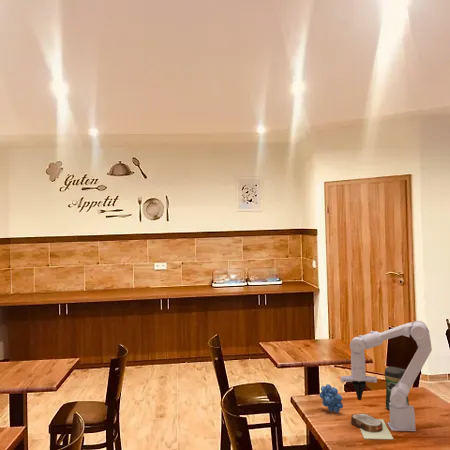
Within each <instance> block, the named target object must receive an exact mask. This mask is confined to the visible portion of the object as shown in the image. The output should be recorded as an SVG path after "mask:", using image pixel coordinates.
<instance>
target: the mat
mask: <svg viewBox="0 0 450 450" xmlns="http://www.w3.org/2000/svg"><path fill="white" fill-rule="evenodd" d="M377 419H378V420H379V421H381V422H382V428H383V430H382V431H380V432H367V431H364V430H363V429H361V428H359V430H360V432H361V435H362V437H363V440H390V441H391V440H394V437H393V436H392V434H391V430H390V429H389V427H388V425H387V424H386V423H385V420H384V418H381V419H380V418H377ZM394 441H395V440H394Z"/></svg>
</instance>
